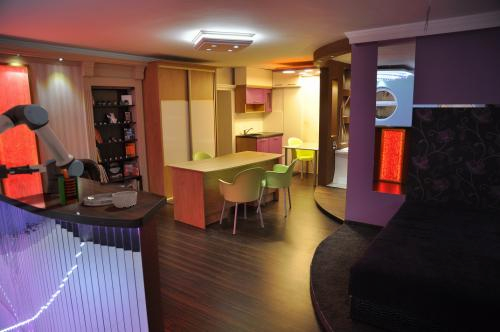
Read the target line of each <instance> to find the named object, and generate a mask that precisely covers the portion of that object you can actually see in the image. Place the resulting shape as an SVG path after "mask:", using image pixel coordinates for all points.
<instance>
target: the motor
mask: <svg viewBox="0 0 500 332" xmlns="http://www.w3.org/2000/svg"><path fill="white" fill-rule="evenodd" d="M61 173H64V176H61V177H58V182H59V193H58V194H59V203H60V205H61V206H62V205H63V206H65V205H74V204H77V203H78V202H80V193H79V192H80V191H79V181H78V178H79V177H77V176H76V175H69V176H68V172H67V170H66V169H63V170H61Z"/></svg>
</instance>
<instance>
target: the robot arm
mask: <svg viewBox="0 0 500 332" xmlns="http://www.w3.org/2000/svg"><path fill="white" fill-rule="evenodd" d="M49 124H50V119H49V112H48V110H47V109H46V108H45V107H44V106H42V105H40V104H36V103H29V104H17V105H15V106H12V107H11V108H9V109H7V110H5V111H4V112H2V113H1V114H0V135H2V134H3V133H5V132H7V131H8V130H9V129H11V130H12V129H14V128H16V127H18V126H21V125H26V127H27V128H28V130H30V131H31V132H34V133H35V134H36V135H37V137H38V138H39V140H40V141H41V142H42V143H43V145H44V147H46V149H47V150H48V152H49V153H50V154H51V156H52V157H53V158H50V159H46V161H45V166H44V164H32V165H30V163H27V164H26V165H20V166H11V167H8V165H7V164H0V180H4V179H5V180H6V179H8V178H9V175H10V176H12V175H13V176H15V175H28V174H29V175H31V176H32V175H33V174H39V173H46V179H47V182H46V186H45V194H47V193H55V194H54V195H56V194H60V193H59V182H58V177H61V176H64V173H61V170H63V169H66V170H67V172H68V176H69V175H76V176H77V178H79V177H80V176H82V174H83V172H84V169H85V168H84V164H83V162H82V161H81V160H77V159H76V158H75V157H74V154H69V152H68V150H67V148H66V147H65V146H64V145H63V143H62V141H60V139H59V137H58V136H57V134H56V133H55V132H54V131H53V129H52V128H51V126H50V125H49Z"/></svg>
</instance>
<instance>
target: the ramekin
mask: <svg viewBox="0 0 500 332" xmlns="http://www.w3.org/2000/svg"><path fill="white" fill-rule="evenodd" d="M112 194H113V195H112V198H113V201H114V206H115V208H118V209H124V208H123V207H126V208H131V207H134V206H136V204H137V197H138V192H137V191H134V190H128V191H126V190H125V191H119V192H118V191H117V192H116V193H112ZM133 205H134V206H133ZM130 206H131V207H130Z"/></svg>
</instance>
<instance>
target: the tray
mask: <svg viewBox="0 0 500 332" xmlns="http://www.w3.org/2000/svg"><path fill="white" fill-rule="evenodd" d="M113 194H114V193H99V194H98V193H97V194H93V195H89V196H86V197H84V198H82V202H83V204H84V206H88V207H100V206H101V207H102V206H103V207H104V206H108V205H113V204H114V201H113V198H112V195H113Z"/></svg>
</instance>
